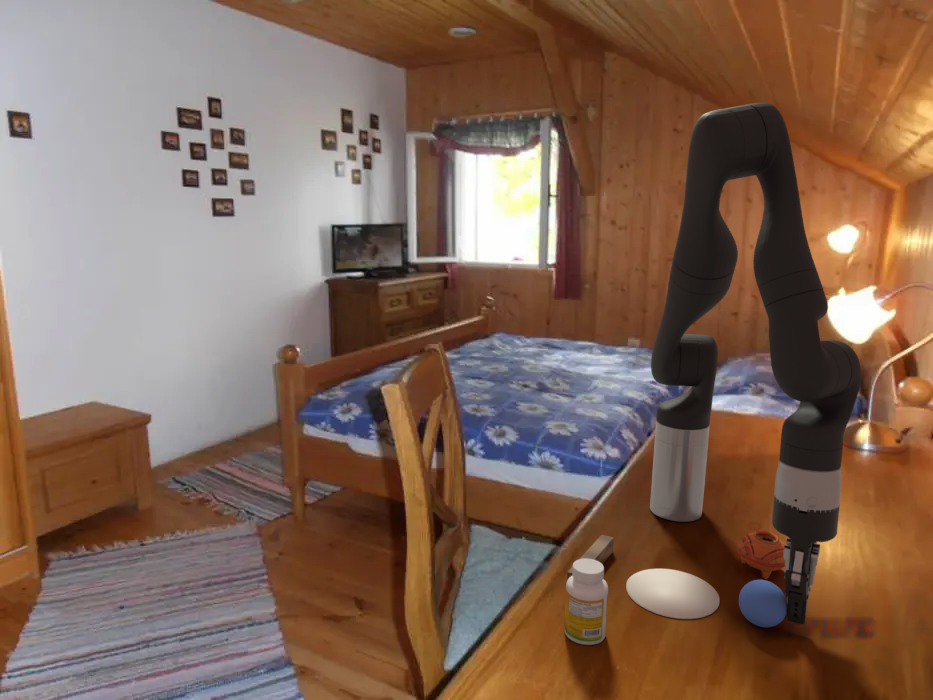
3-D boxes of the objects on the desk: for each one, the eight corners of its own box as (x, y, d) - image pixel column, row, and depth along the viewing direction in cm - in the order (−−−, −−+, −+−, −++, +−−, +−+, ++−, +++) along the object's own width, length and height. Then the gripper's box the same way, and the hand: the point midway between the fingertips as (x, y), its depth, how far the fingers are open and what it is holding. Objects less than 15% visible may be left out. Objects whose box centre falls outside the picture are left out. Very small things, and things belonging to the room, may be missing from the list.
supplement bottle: (577, 616, 93) (580, 551, 91) (613, 632, 90) (617, 564, 88) (556, 635, 89) (559, 566, 87) (592, 652, 86) (596, 581, 84)
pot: (762, 551, 111) (774, 518, 108) (794, 586, 104) (808, 551, 102) (720, 555, 109) (731, 521, 106) (750, 591, 102) (763, 556, 99)
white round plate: (642, 561, 108) (642, 560, 108) (728, 585, 101) (728, 584, 101) (613, 600, 97) (613, 599, 97) (707, 630, 90) (707, 628, 90)
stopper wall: (601, 548, 112) (601, 534, 111) (612, 551, 111) (613, 537, 110) (566, 587, 100) (567, 571, 100) (579, 591, 99) (580, 575, 99)
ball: (779, 614, 94) (736, 591, 96) (797, 585, 91) (753, 563, 93) (772, 645, 90) (727, 620, 92) (791, 616, 87) (744, 591, 89)
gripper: (781, 475, 95) (772, 590, 98) (767, 508, 84) (757, 637, 87) (843, 485, 91) (831, 605, 94) (836, 521, 80) (823, 655, 83)
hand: (795, 620), depth 90 cm, fingers closed
